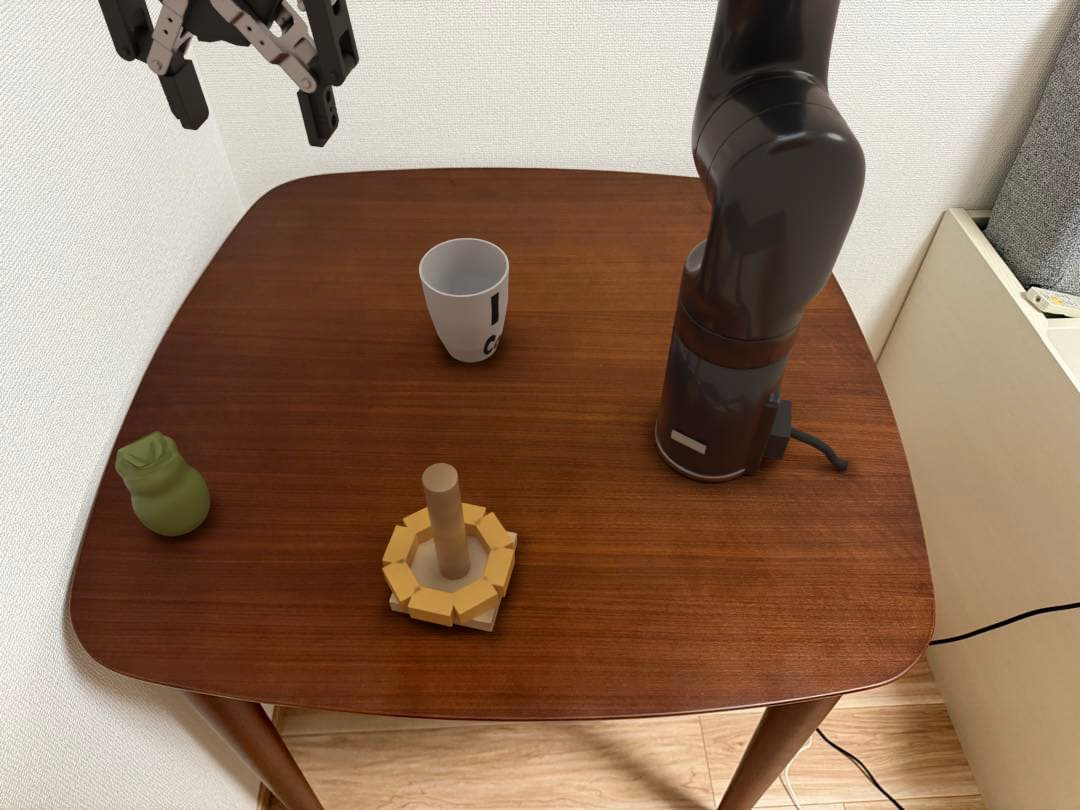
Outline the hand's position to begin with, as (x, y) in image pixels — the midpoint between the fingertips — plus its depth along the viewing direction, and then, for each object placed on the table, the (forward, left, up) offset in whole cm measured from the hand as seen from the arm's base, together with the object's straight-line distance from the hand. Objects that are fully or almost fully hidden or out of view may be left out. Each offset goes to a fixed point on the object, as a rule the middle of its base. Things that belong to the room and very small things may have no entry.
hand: (259, 131), depth 52 cm
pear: (+10, +12, -30) cm, 34 cm away
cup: (-8, -13, -30) cm, 34 cm away
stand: (-14, +12, -30) cm, 35 cm away
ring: (-14, +12, -29) cm, 34 cm away
